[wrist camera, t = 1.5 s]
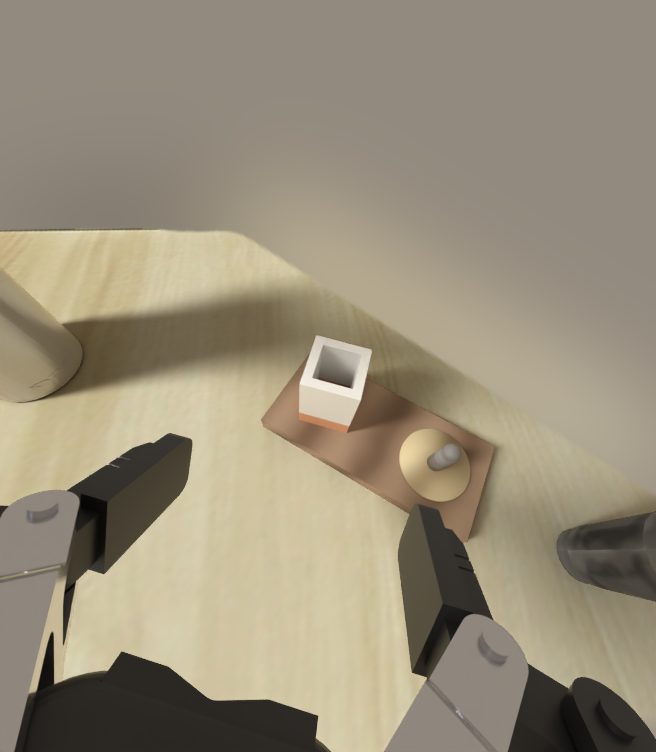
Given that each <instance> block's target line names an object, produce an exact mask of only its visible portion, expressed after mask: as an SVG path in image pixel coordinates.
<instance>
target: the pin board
mask: <svg viewBox="0 0 656 752" xmlns="http://www.w3.org/2000/svg"><path fill="white" fill-rule="evenodd" d="M309 355H310V354H309ZM309 355H308V356H307V358H306V359H305V361H304V362H303V363H302V365H301V366H300V367H299V369H298V370H297V371H296V373H295V374H294V376H293V377H292V378H291V380H290V381H289V382H288V384H287V385H286V386H285V388H284V389H283V391H282V392H281V393H280V395H279V396H278V397H277V399H276V400H275V401H274V403H273V404H272V406H271V407H270V408H269V410H268V411H267V412H266V414H265V415H264V416H263V418H262V419H261V420H262V424H263V426H264V427H266V428H267V429H269V430H271V431H272V432H274V433H276V434H277V435H279V436H281V437H282V438H284V439H286V440H287V441H289V442H291V443H292V444H294V445H296V446H297V447H299V448H301V449H302V450H304V451H306V452H307V453H309V454H311V455H312V456H314V457H316V458H317V459H319V460H321V461H322V462H324V463H326V464H327V465H329V466H331V467H332V468H334V469H336V470H337V471H339V472H341V473H342V474H344V475H346V476H347V477H349V478H351V479H352V480H354V481H356V482H357V483H359V484H361V485H362V486H364V487H366V488H367V489H369V490H371V491H372V492H374V493H376V494H377V495H379V496H381V497H382V498H384V499H386V500H387V501H389V502H391V503H392V504H394V505H396V506H397V507H399V508H401V509H402V510H404V511H406V512H407V513H409V514H410V512H411V510H412V507H413V505H414V504H415V503H417V504H421V505H424V506H428V507H431V508H435V509H438V510H439V512H440V515H441V517H442V520H443V523H444V526H445V528H448V529H451V530H453V531H454V533H455V534H456V535H457V536H458V538H459V539H460V540H461V542H467V541H468V538H469V534H470V531H471V527H472V524H473V520H474V517H475V513H476V510H477V507H478V503H479V500H480V496H481V493H482V489H483V486H484V482H485V479H486V475H487V472H488V469H489V465H490V462H491V458H492V455H493V451H494V448H495V447H494V446H493V445H491V444H489V443H487V442H485V441H483V440H481V439H479V438H478V437H476V436H474V435H472V434H470V433H468V432H466V431H464V430H462V429H461V428H459V427H457V426H455V425H453V424H451V423H449V422H447V421H446V420H444V419H442V418H440V417H438V416H436V415H434V414H432V413H431V412H429V411H427V410H425V409H423V408H421V407H419V406H417V405H415V404H414V403H412V402H410V401H408V400H406V399H404V398H402V397H400V396H399V395H397V394H395V393H393V392H391V391H389V390H387V389H385V388H383V387H382V386H380V385H378V384H376V383H374V382H372V381H370V380H368V379H367V378H366V380H365V384H364V388H363V393H362V397H361V401H360V403H359V406H358V408H357V410H356V412H355V415H354V417H353V419H352V421H351V424H350V426H349V428H348V430H347V433H344V432H341V431H337V430H334V429H330V428H326V427H323V426H319V425H316V424H312V423H309V422H305V421H302V420H299V385H300V381H301V378H302V375H303V372H304V370H305V367H306V364H307V361H308V358H309Z"/></svg>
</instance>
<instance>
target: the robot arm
mask: <svg viewBox="0 0 656 752" xmlns="http://www.w3.org/2000/svg"><path fill="white" fill-rule="evenodd" d="M82 356H83V352H82V347H81V344H80V342H79V341H78V340H77V339H76V338H75V337H74V336H73V335H72V334H71V333H70V332H69V331H68V330H67V329H66V328H65V327H64V326H63V325H62V324H60V323H59V322H58V321H57V320H56V319H55V318H54V317H53V316H52V315H51V314H50V313H49V312H48V311H47V310H46V309H45V308H44V307H43V306H42V305H41V304H39V303H38V302H37V301H36V300H35V299H34V298H33V297H32V296H31V295H30V294H29V293H28V292H27V291H26V290H25V289H23V288H22V287H21V286H20V285H19V284H18V283H17V282H16V281H15V280H14V279H13V278H12V277H11V276H10V275H9V274H8V273H6V272H5V271H4V270H3V269H2V268H1V267H0V399H1V400H4V401H8V402H27V401H31V400H36V399H39V398H42V397H44V396H47V395H49V394H51V393H53V392H54V391H56V390H58V389H59V388H61V387H62V386H63V385H65V384H66V383H67V382H68V381H69V380H70V379H71V378H72V377H73V376H74V374H75V373H76V372H77V370H78V369H79V366H80V364H81V362H82ZM191 452H192V440H191V439H190V438H186V437H183V436H179V435H176V434H172V433H169V434H167V435H165V436H164V437H162V438H161V439H159V440H158V441H156V442H155V443H150V442H149V443H146V444H143V445H140V446H137V447H134V448H132V449H130V450H129V451H127V452H126V453H124V454H123V455H121V456H120V458H116V459H115V460H113V461H112V462H110V463H109V465H106V466H104V467H103V468H101V469H99V470H98V471H96V472H95V473H93V474H92V475H90V476H89V477H87V478H85V479H84V480H82V481H81V482H79V483H78V484H76V485H75V486H73V487H71V488H70V489H68V490H67V491H64V490H49V491H42V492H38V493H34V494H31V495H28V496H26V497H23V498H21V499H19V500H17V501H16V502H14V503H13V504H11V505H10V506H0V752H331V751H330V750H329V749H328V748H327V747H326V746H325V745H324V744H323V743H321V742H320V741H319V740H318V739H316V731H317V722H318V716H317V715H314V714H311V713H308V712H305V711H302V710H299V709H296V708H293V707H290V706H286V705H283V704H280V703H277V702H274V701H271V700H230V701H214V700H211V699H209V698H207V697H206V696H204V695H203V694H202V693H201V692H199V691H198V690H197V689H196V688H194V687H193V686H192V685H191V684H189V683H188V682H187V681H186V680H184V679H183V678H182V677H181V676H179V675H178V674H177V673H176V672H174V671H173V670H172V669H171V668H169V667H167V666H164V665H161V664H158V663H155V662H152V661H149V660H146V659H143V658H140V657H137V656H134V655H131V654H128V653H125V652H121V653H120V654H119V656H118V657H117V659H116V660H115V662H114V663H113V665H112V666H111V668H110V669H109V670H108V671H99V672H92V673H86V674H83V675H79V676H75V677H71V678H69V679H66V680H64V681H62V680H63V669H64V661H65V654H66V649H67V643H68V638H69V632H70V626H71V621H72V615H73V610H74V604H75V599H76V593H77V587H78V579H79V578H80V577H81V576H82V575H83V574H84V573H85V572H86V571H87V570H88V569H89V570H92V571H95V572H98V573H102V574H105V573H106V572H107V571H108V570H109V568H110V567H111V566H112V565H113V564H114V563H115V562H116V561H117V560H118V559H119V558H120V557H121V556H122V555H123V554H124V553H125V552H126V551H127V550H128V548H129V547H130V546H131V545H132V544H133V543H134V542H135V541H136V540H137V539H138V538H139V537H140V536H141V535H142V534H143V533H144V532H145V531H146V529H147V528H148V527H149V526H150V525H151V524H152V523H153V522H154V521H155V520H156V519H157V518H158V517H159V516H160V515H161V514H162V513H163V512H164V511H165V509H166V508H167V507H168V506H169V505H170V504H171V503H172V502H173V501H174V500H175V499H176V498H177V497H178V496H179V495H180V493H181V492H182V491H183V489H184V487H185V485H186V482H187V479H188V475H189V467H190V459H191ZM398 562H399V571H400V579H401V587H402V595H403V603H404V612H405V620H406V628H407V636H408V645H409V653H410V661H411V669H412V673H415V674H418V675H421V676H424V677H427V680H426V681H425V683H424V684H423V686H422V688H421V689H420V691H419V693H418V695H417V696H416V698H415V700H414V701H413V703H412V705H411V707H410V708H409V710H408V712H407V713H406V715H405V717H404V719H403V720H402V722H401V724H400V725H399V727H398V729H397V731H396V732H395V734H394V736H393V737H392V739H391V741H390V742H389V744H388V746H387V748H386V749H385V751H384V752H656V739H655V738H654V736H653V734H652V733H651V731H650V730H649V728H648V727H647V725H646V724H645V723H644V722H643V720H642V719H641V718H640V717H639V715H638V714H637V713H636V712H635V711H634V710H633V709H632V708H631V707H630V706H629V705H628V704H627V703H626V702H625V701H624V700H623V699H622V698H621V697H620V696H618V695H617V694H616V693H615V692H613V691H612V690H611V689H609V688H608V687H606V686H605V685H603V684H601V683H599V682H597V681H595V680H593V679H590V678H586V677H580V678H577V679H575V680H574V682H573V683H572V685H571V686H570V688H569V689H568V688H567V687H565V686H563V685H562V684H560V683H558V682H557V681H555V680H554V679H552V678H550V677H549V676H547V675H545V674H544V673H542V672H540V671H539V670H537V669H535V668H534V667H532V666H531V665H529V664H528V663H527V660H526V658H525V655H524V653H523V651H522V650H521V648H520V646H519V645H518V643H517V642H516V641H515V639H514V638H513V637H512V636H511V635H510V634H509V633H508V632H507V631H506V630H505V629H504V628H503V627H502V626H500V625H499V624H498V623H496V622H495V621H494V620H493V618H492V615H491V613H490V610H489V608H488V605H487V603H486V600H485V598H484V595H483V593H482V590H481V588H480V585H479V582H478V580H477V577H476V575H475V574H474V570H473V567H472V565H471V562H470V561H469V557H468V555H467V552H466V549H465V547H464V544H463V543H462V542H461V540H460V539H459V538H458V536H457V535H456V534H455V533H454V531H453V530H451V529H448V528H445V526H444V523H443V520H442V517H441V515H440V512H439V510H438V509H435V508H431V507H428V506H424V505H421V504H417V503H415V504H414V505H413V507H412V510H411V512H410V515H409V518H408V520H407V523H406V526H405V528H404V531H403V534H402V537H401V539H400V543H399V549H398Z"/></svg>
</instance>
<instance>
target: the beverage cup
mask: <svg viewBox="0 0 656 752" xmlns="http://www.w3.org/2000/svg"><path fill="white" fill-rule="evenodd" d="M557 552H558V555H559V559H560V561H561V563H562V564H563V566H564V568H565V569H566V570H567V571H568V573H569V574H570V575H571V576H573V577H574V578H575V579H577V580H578V581H581V582H583V583H587V584H591V585H594V586H597V587H600V588H603V589H607V590H611V591H615V592H619V593H623V594H627V595H631V596H635V597H639V598H643V599H647V600H651V601H655V602H656V511H655V512H652V513H647V514H642V515H637V516H632V517H626V518H621V519H616V520H611V521H605V522H600V523H595V524H590V525H585V526H580V527H577V528H574V529H569V530H566V531H563V532H562V533H561V534H560V536H559V538H558V541H557Z"/></svg>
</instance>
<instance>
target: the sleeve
mask: <svg viewBox="0 0 656 752" xmlns="http://www.w3.org/2000/svg"><path fill="white" fill-rule="evenodd" d="M371 353H372V350H371V349H367V348H363V347H360V346H356V345H352V344H348V343H345V342H341V341H337V340H333V339H330V338H326V337H322V336H318V335H316V338H315V341H314V344H313V347H312V349H311V352H310V355H309V358H308V361H307V364H306V367H305V370H304V372H303V375H302V378H301V381H300V385H299V420H302V421H305V422H309V423H312V424H316V425H319V426H323V427H326V428H330V429H334V430H337V431H341V432H344V433H347V430H348V428H349V426H350V424H351V421H352V419H353V417H354V415H355V412H356V410H357V408H358V406H359V403H360V401H361V397H362V393H363V388H364V384H365V380H366V375H367V371H368V366H369V362H370V358H371Z"/></svg>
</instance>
